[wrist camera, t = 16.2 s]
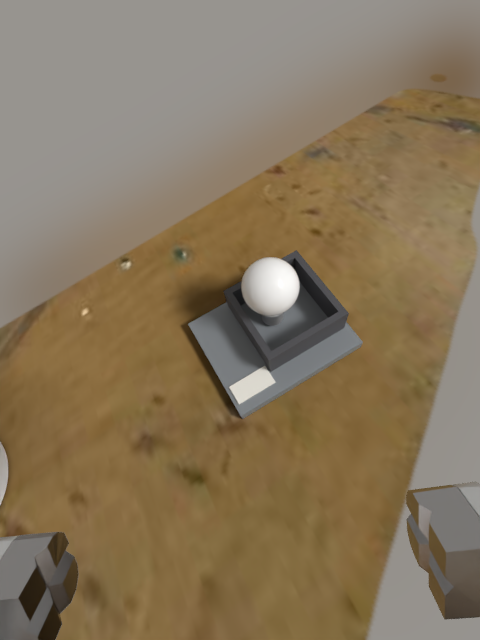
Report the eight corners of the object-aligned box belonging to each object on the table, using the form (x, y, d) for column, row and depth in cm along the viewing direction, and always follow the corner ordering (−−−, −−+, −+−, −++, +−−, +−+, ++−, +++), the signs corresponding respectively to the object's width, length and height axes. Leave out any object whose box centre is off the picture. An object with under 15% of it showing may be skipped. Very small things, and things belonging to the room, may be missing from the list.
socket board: (242, 419, 45) (236, 408, 40) (190, 328, 51) (179, 309, 46) (360, 346, 47) (368, 328, 42) (297, 268, 53) (298, 244, 48)
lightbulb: (240, 308, 49) (228, 259, 40) (284, 289, 50) (283, 236, 40) (259, 349, 47) (252, 307, 37) (306, 329, 47) (311, 282, 37)
